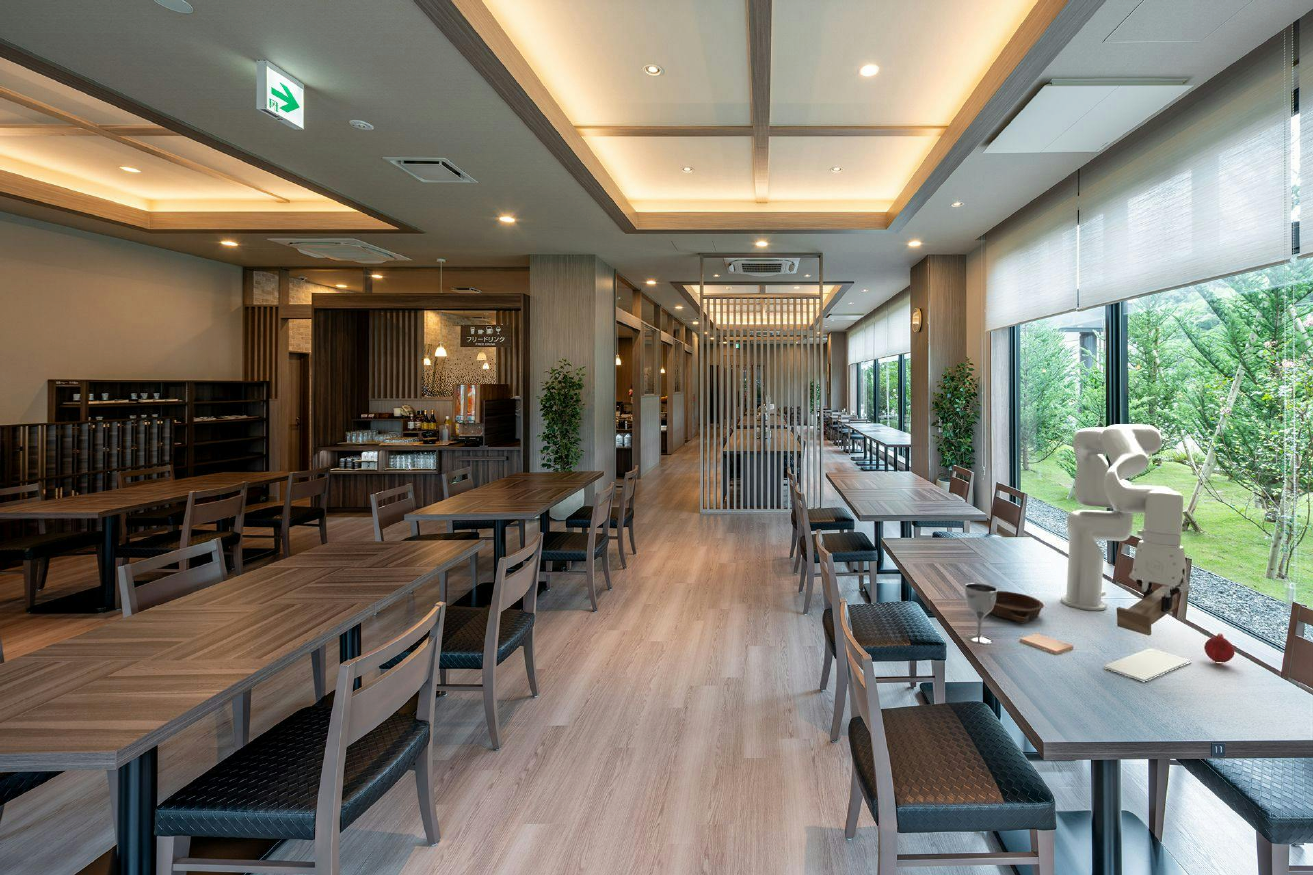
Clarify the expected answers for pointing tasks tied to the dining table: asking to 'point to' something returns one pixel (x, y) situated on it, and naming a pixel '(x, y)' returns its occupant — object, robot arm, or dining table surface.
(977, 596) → the wine glass
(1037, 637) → the wooden picture frame
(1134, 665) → the board
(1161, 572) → the robot arm
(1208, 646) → the onion
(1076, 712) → the dining table surface
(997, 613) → the dish
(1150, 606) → the brown wooden brick
